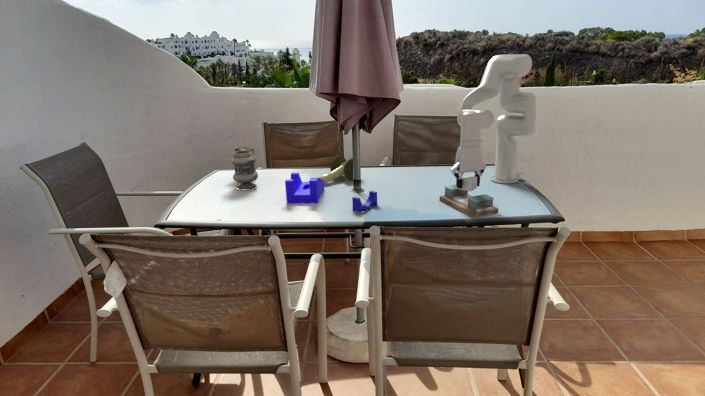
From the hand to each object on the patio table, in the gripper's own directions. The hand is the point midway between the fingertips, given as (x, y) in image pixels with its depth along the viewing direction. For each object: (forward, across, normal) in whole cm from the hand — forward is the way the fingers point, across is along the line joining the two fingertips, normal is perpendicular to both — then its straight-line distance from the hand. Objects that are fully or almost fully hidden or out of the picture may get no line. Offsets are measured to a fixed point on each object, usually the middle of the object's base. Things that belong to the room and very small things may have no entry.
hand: (467, 186), depth 189 cm
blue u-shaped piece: (+10, +37, -17) cm, 42 cm away
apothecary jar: (+9, +78, -73) cm, 108 cm away
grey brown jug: (+9, +76, -90) cm, 118 cm away
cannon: (+9, +34, -64) cm, 73 cm away
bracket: (+10, +56, -45) cm, 73 cm away
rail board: (+9, 0, 0) cm, 9 cm away
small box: (+1, 0, 0) cm, 1 cm away
